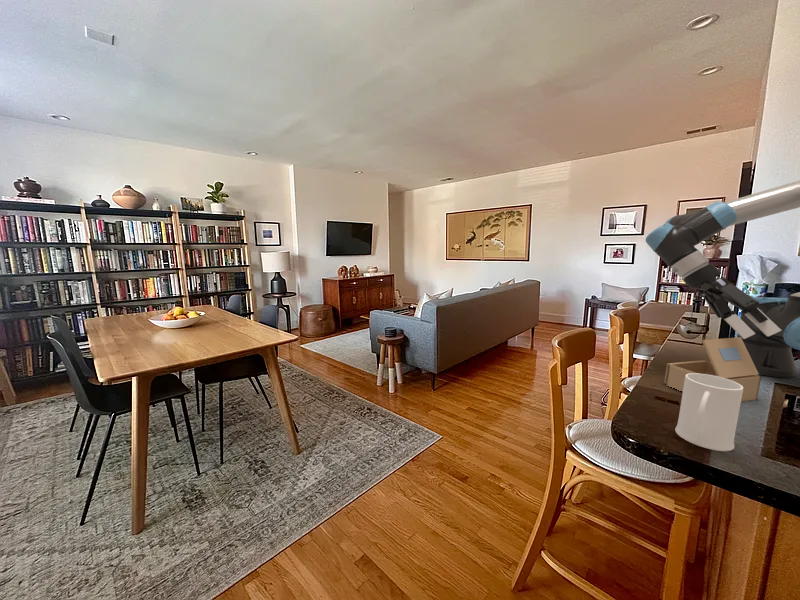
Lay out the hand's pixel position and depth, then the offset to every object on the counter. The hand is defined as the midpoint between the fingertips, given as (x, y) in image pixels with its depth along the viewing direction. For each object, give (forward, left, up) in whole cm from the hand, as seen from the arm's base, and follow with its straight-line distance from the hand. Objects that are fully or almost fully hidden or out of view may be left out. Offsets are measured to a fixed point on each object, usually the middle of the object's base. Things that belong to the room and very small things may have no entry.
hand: (761, 335), depth 83 cm
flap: (+10, +3, -10) cm, 15 cm away
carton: (+10, -3, -16) cm, 19 cm away
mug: (+38, +14, -16) cm, 44 cm away
